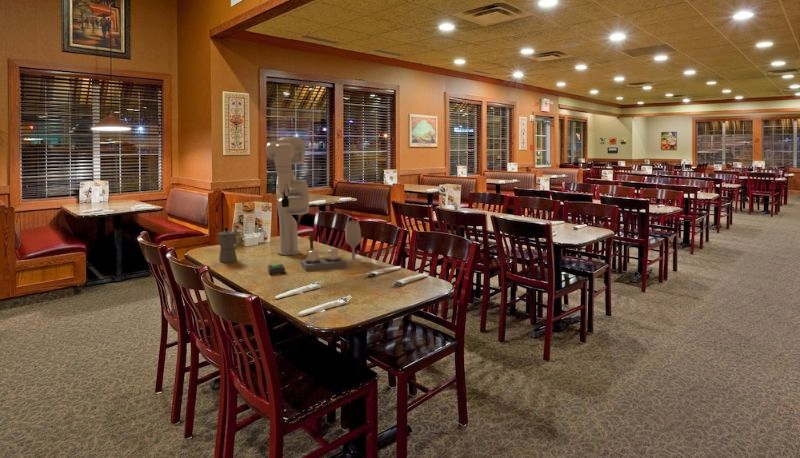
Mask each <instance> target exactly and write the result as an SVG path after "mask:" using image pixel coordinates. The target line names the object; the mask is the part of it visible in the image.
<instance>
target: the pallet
mask: <svg viewBox="0 0 800 458" xmlns="http://www.w3.org/2000/svg"><path fill="white" fill-rule="evenodd" d="M300 266H301V267H302V269H303V270H304V271H305V272H312V271H323V270H330V269H331V270H332V269H340V268H346V267H347V261H346V260H344V259H343V258H341V257H340V256H338V261H337V262H328V257H326V258H325V257H323V258H319V259H318V263H315V264H308V260H305V259H301V260H300Z"/></svg>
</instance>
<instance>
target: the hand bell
mask: <svg viewBox="0 0 800 458" xmlns="http://www.w3.org/2000/svg"><path fill="white" fill-rule="evenodd" d="M314 238H315V234H314V233H313V230H310V231H309V234H308V241H309V250H307V253H306V257H305V258H304V260H308V251H310V250H315V249H314V240H315V239H314ZM318 259H320V258H319V257H318Z"/></svg>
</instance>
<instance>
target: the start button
mask: <svg viewBox="0 0 800 458" xmlns="http://www.w3.org/2000/svg"><path fill="white" fill-rule="evenodd" d="M281 264H282V263H273V264H270V265H271V268H277V267H281Z"/></svg>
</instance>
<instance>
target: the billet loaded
mask: <svg viewBox="0 0 800 458" xmlns="http://www.w3.org/2000/svg"><path fill="white" fill-rule="evenodd" d="M338 251H339V250H338V248H328V249H327V258H328V262H337V261H338V257H339V252H338Z"/></svg>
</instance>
